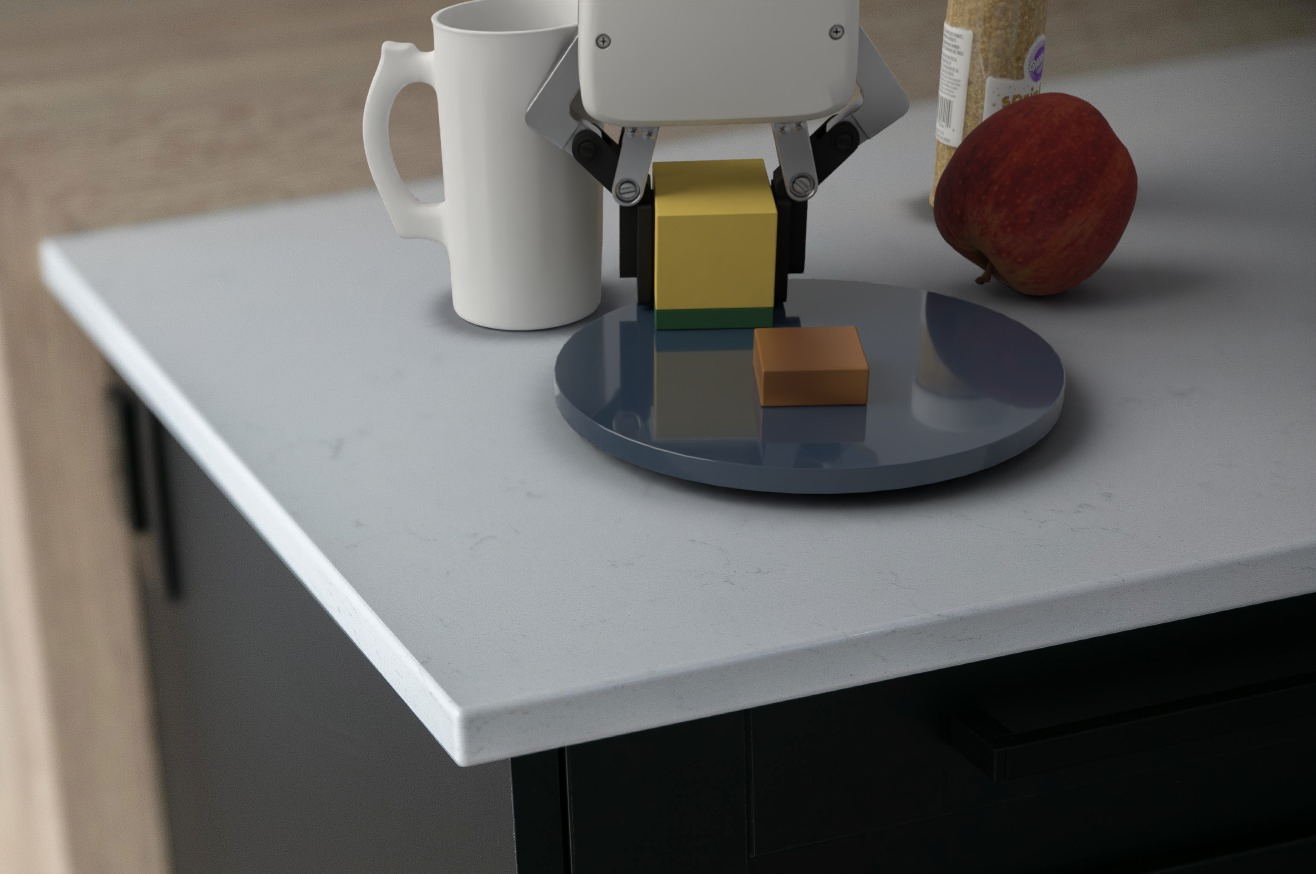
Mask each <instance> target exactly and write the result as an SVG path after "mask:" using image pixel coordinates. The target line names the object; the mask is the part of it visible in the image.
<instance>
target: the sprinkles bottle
mask: <svg viewBox="0 0 1316 874" xmlns="http://www.w3.org/2000/svg"><path fill="white" fill-rule="evenodd" d="M1048 6H1049V0H947V8H946V14H945V15H946V17H945V20H944V22H943V35H942V47H941V61H940V72H939V86H938V95H937V96H938V97H937V109H936V121H935V135H934V136H935V138H936V146H935V147H936V148H935V163H934V171H933V174H934V175H933V183H932V184H933V185H932V189H931V191H930V194H929V197H928V201H929V205H930V207H932V209H933V208H934V196H935V191H936V187H937V184H938V182H939V179H940V177H941V175H942V173H943V171H944V169H945V168H946V166H947V164H948V163H949V161H950V159H951V158H952V156H953V154H954V153H955V151H956V149H957V148H958V146H959V145H960V144H961V143H962V141H963V140H964V139H965V138H966V137H967V135H968V134H969V133H971V132H972V131H973V130H974V129H975V128H976V127H977V126H978V125H979V124H980V123H982V122H983V121H984V120H985V119H987V118H988V117H990V116H991V115H992V114H994V113H996V112H997V111H999V110H1001V109H1002V108H1004V107H1005V106H1007V105H1009V104H1011V103H1013V102H1015V101H1018V100H1021V99H1023V98H1026V97H1029V96H1032V95H1036V94H1041V88H1042V78H1043V68H1044V59H1045V49H1046V25H1047V24H1046V23H1047V15H1048Z"/></svg>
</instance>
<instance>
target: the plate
mask: <svg viewBox="0 0 1316 874" xmlns="http://www.w3.org/2000/svg"><path fill="white" fill-rule="evenodd" d="M773 308H774V311H773V327H770V328H791V327H833V326H855V327H856V328H857V331H858V335H859V338H860V341H861V344H862V347H863V350H864V353H865V356H866V359H867V362H868V365H869V368H870V373H869V388H868V402H867V404H866V405H828V406H775V407H763V406H761V403H760V398H759V392H758V387H757V381H756V376H755V370H754V365H753V348H754V330H755V329H756V328H723V329H676V330H656V328H655V313H654V302H651V305H640V306H638V301H635V302H631V303H628V304H626V305H623V306H620V307H619V308H616V309H613V310H612V311H609V312H607V313H604V314H603V315H601V316H599V317H598V318H595V319H594V320H592V321H590V322H589V323H587V324H586V325H584V326H583V327H581V328H580V329H579V330H577V331H576V332H574V333H573V334H572V335H571V336H570V338H569V339H568V340H567V341H566V342H565V343H564V344H563V345H562V347H561V348H560V350H559V352H558V354H557V355H556V358H555V362H554V367H553V388H554V389H553V390H554V391H553V392H554V399H555V404H556V406H557V408H558V411H559V412H560V415H561V417H562V418H563V420H565V421H566V423H567V424H568V426H569V427H570V428H571V429H572V430H574V431H575V433H577V434H578V435H579V436H580V437H582V438H583V439H584V440H585V441H587V442H589V443H591V444H592V445H593V446H595V447H596V448H598V449H600V450H602V451H604V452H605V453H607V454H610V455H612V456H614V457H616V458H617V459H619V460H620V459H621V460H622V461H624V462H627V463H629V464H632V465H635V466H638V467H640V468H644V469H646V470H649V471H653V472H655V473H659V474H664V475H667V476H670V477H674V478H678V479H681V480H685V481H691V482H696V483H700V484H706V485H711V486H716V487H723V488H731V489H739V490H745V491H754V492H767V493H782V494H815V495H816V494H817V495H818V494H820V495H830V494H833V495H834V494H855V493H857V494H858V493H870V492H871V493H872V492H880V491H881V492H882V491H891V490H901V489H906V488H912V487H913V488H914V487H918V486H925V485H931V484H936V483H940V482H945V481H948V480H952V479H953V480H954V479H956V478H961V477H965V476H968V475H971V474H973V473H977V472H980V471H984V470H985V469H989V468H992V467H994V466H997V465H999V464H1002V463H1003V462H1006V461H1008V460H1011V459H1012V458H1015V457H1017V456H1018V455H1020V454H1022V453H1023V452H1025V451H1026V450H1028V449H1029V448H1032V447H1033V446H1035V445H1036V444H1037V443H1038V442H1039V441H1040V440H1041V439H1043V438H1044V437H1045V436H1046V435H1047V434H1048V433H1049V432H1050V431H1051V430H1052V428H1053V427H1054V425H1055V424H1056V423H1057V421H1058V420H1059V418H1060V415H1061V412H1062V409H1063V406H1064V400H1065V393H1066V392H1065V391H1066V370H1065V367H1064V365H1063V362H1062V359H1061V357H1060V356H1059V354H1058V352H1056V350H1055V348H1054V347H1053V346H1052V345H1051V344H1050V343H1049V342H1048V341H1046V339H1044V338H1043V337H1042V336H1041V335H1040V334H1039V333H1037V332H1036V331H1034V330H1032V329H1031V328H1030V327H1027V325H1025V324H1023V323H1022V322H1019V321H1017V320H1016V319H1013V317H1012V318H1011V317H1009V316H1007V315H1005V314H1003V313H1001V312H998V311H996V310H994V309H991V308H988V307H986V306H984V305H981V304H978V303H975V302H971V301H968V300H964V299H961V298H958V297H956V296H950V295H947V294H942V293H937V292H933V291H930V290H929V291H928V290H924V289H919V288H913V287H908V286H902V285H895V284H889V283H880V282H879V283H878V282H873V281H861V280H849V279H833V278H832V279H831V278H829V279H828V278H788V286H787V301H786V302H774V306H773Z"/></svg>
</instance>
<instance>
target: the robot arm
mask: <svg viewBox="0 0 1316 874" xmlns="http://www.w3.org/2000/svg"><path fill="white" fill-rule="evenodd" d="M856 85H857V87H858V88H859V94H858V96H857V98H856V99H855V100H853V102H851V100H852V98H853V95H854V93H855V87H856ZM580 88H581V97H582V102H583V106H584V108H585V110H586V112H587V113H588V114H589V115H590V116H591V117H593V118H594V119H596V120H598V121H600V122H603V123H604V124H607V125H609V126H616V127H620V131H619V135H618V139H617V142H616V141H615V140H614V139H613V138H612V137H611V136H610V135H609V134H608V133H607V132H605V130H604V131H603V130H602V129H601V128H600V127H599V126H598V125H596V124H595V123H591V122H588V121H587V120H585V119H584V118H583V117H581V115H580V114H578V113H577V112H575V111H574V110H573V109H572V107H571V105H570V104H571V102H572V100H573V99H574V97H575V96H576V94H577V93H578V91H579V90H580ZM850 102H851V103H850ZM849 103H850V104H849ZM910 103H911V101H910V99H909V97H908V95H907V93H906V91H905V89H904V88H903V86H902V84H901V83H900V82H899V80H898V79H897V77H896V76H895V74H894V73H893V71H892V69H891V68H890V67H889V65H888V64H887V63H886V60H885V59H884V58H883V56H882V55H881V53H880V52H879V50H878V49H877V47H876V46H875V44H874V43H873V41H872V40H871V38H870V37H869V35H868V34H867V32H866V31H865V29H864V28H863V26H862V25H861V23H860V0H578V26H577V30H576V32H575V33H574V35H573V36H572V38H571V39H570V41H569V42H568V44H567V45H566V47H565V48H564V50H563V51H562V53H561V54H560V56H559V57H558V59H557V60H556V62H555V63H554V65H553V66H552V68H551V69H550V71H549V72H548V74H547V75H546V77H545V78H544V80H543V81H542V83H541V85H540V86H539V88H538V89H537V91H536V92H535V94H534V95H533V97H532V98H531V100H530V101H529V103H528V105H527V107H526V112H525V121H526V124H527V126H528V127H529V128H530V129H532V130H533V131H535V132H536V133H538V134H539V135H541V136H542V137H544V138H545V139H547V140H548V141H550V142H551V143H553V144H554V145H556V146H557V147H559V148H560V149H562V150H565V151H566V152H568V153H569V154H571V155H572V156H573V157H574V158H575V159H576V161H577V162H578V163H580V164H581V165H582V166H583V167H584V168H585V169H586V170H587V171H588V172H589V173H590V174H591V175H592V176H593V177H594V178H595V179H597V180H598V181H599V182H600V183H601V184H602V185H603V188H605V189H606V190H607V191H608V192H609V193H610V194H611V195H612V198H613V200H614V202H615V203H617V204H618V208H619V209H618V211H619V212H618V213H619V216H618V225H619V226H618V238H619V239H618V246H619V247H618V248H619V249H618V253H619V254H618V257H619V260H618V263H619V264H618V267H619V268H618V269H619V270H618V271H619V272H618V273H619V276H618V277H619V279H636V296H637V297H636V298H637V299H636V300H637V302H638V306H640V305H651V302H654V293H655V291H654V287H655V201H654V189H652V176H651V174H650V173H649V172H650V168H651V164H652V159H653V156H654V152H655V147H656V143H657V140H658V135H659V131H660V128H661V127H663V128H664V127H695V126H698V127H699V126H725V125H726V126H727V125H749V124H750V125H754V124H770V125H771V126H770V127H771V130H772V136H773V141H774V146H775V150H776V156H777V159H778V161H777V162H778V166H777V167H776V168H775V169H774V170H773V171H772V178H771V179H770V186H771V190H772V194H773V197H774V201H775V205H776V209H777V213H778V216H777V239H776V263H775V287H774V302H786V301H787V286H788V279H789V275H796V274H797V275H798V274H804V273H805V269H806V268H805V266H806V247H807V228H808V226H807V225H808V209H809V208H808V207H809V206H808V205H809V200H810V199H812V198H813V197H814V196H815V195H816V193H817V192H818V189H819V186H820V185H821V184H822V183H823V182H824V181H826V179H827V178H829V177H830V176H831V175H832V174H833V173H834V172H835V171H836V170H837V169H838V168H839V167H840V166H841V165H842V164H843V163H844V162H845V161H846V160H848V159H849V158H850V157H851V156H852V155H853V154H854V153H855V152H856V150H857V149H858V148H859V146H860V145H862V144H863V143H866V141H868V140H871V139H873V138H874V137H875V136H876V135H878V134H880V133H881V132H882V131H884V130H885V129H888V127H890V126H891V125H893V124H894V123H895V122H897V121H898V120H900V119H901V118H902V117H904V116H905V115H906V114H907V113H908V111H909V109H910ZM846 106H847V107H846ZM845 107H846V108H845ZM844 108H845V109H844ZM841 110H842V111H841ZM839 111H840V112H839ZM837 112H839V113H837ZM827 117H828V118H827ZM823 118H827V119H826V120H825V121H824V122H823V123H822V124H820V126H819V127H818V128H817V129H815V130H814V131H813V133H811V134H810V132H809V127H808V122H809V121H815V120H818V119H823Z"/></svg>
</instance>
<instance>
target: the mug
mask: <svg viewBox="0 0 1316 874" xmlns="http://www.w3.org/2000/svg"><path fill="white" fill-rule="evenodd" d="M430 20H431V24H432V29H433V50H430V51H421V50H419V49H418V47H417V45H416V44H414V43H412V42H398V41H393V40H386V41H384V42H383V43H382V44H381V53H380V54H381V55H380V59H379V63H378V65H377V68H376V70H375V73H374V76H373V78H372V81H371V84H370V85H369V86H370V87H369V90H368V93H367V97H366V100H365V105H364V109H363V115H362V116H363V117H362V141H363V147H364V152H365V153H364V154H365V157H366V158H365V159H366V161H367V162H366V163H367V165H368V168H369V171H370V172H369V173H370V174H371V177H372V179H373V182H374V184H375V186H376V189H377V191H378V193H379V196H380V198H381V199H382V202H383V204H384V206H385V208H386V211H387V213H388V215H389V217H390V219H391V222H392V224H393V226H394V230H395V231H396V233H397V235H398V236H399V237H400V238H402V239H404V240H414V239H415V240H416V239H417V240H419V239H420V240H428V241H433V242H435V243H437V244H439V245H441V246H443V247H444V248H445V249H446V251H447V254H448V259H449V269H450V270H449V271H450V281H451V294H452V295H451V296H452V306H453V309H454V311H455V314H457V315H458V316H459V317H460V318H461V319H463V320H465V321H466V322H468V323H471V324H473V325H476V326H481V327H485V328H489V329H496V330H505V331H532V330H533V331H535V330H544V329H552V328H556V327H562V326H566V325H569V324H571V323H575V322H577V321H580V320H582V319H584V318H587V317H589V316H590V315H592V314H593V313H594V312H595V311H596V310H597V309H598V308H599V306H600V303H601V300H602V268H603V265H602V264H603V246H604V245H603V243H604V186H603V185H602V184H601V183H600V182H599V181H598V180H597V179H595V178H594V177H593V176H592V175H591V174H590V173H589V172H588V171H587V170H586V169H585V168H584V167H583V166H582V165H581V164H580V163H578V162H577V161H576V159H575V158H574V157H573V156H572V155H571V154H569V153H568V152H566V151H565V150H562V149H560V148H559V147H557V146H556V145H554V144H553V143H551V142H550V141H548V140H547V139H545V138H544V137H542V136H541V135H539V134H538V133H536V132H535V131H533V130H532V129H530V128H529V127H528V126H527V124H526V121H525V112H526V107H527V105H528V103H529V101H530V100H531V98H532V97H533V95H534V94H535V92H536V91H537V89H538V88H539V86H540V85H541V83H542V81H543V80H544V78H545V77H546V75H547V74H548V72H549V71H550V69H551V68H552V66H553V65H554V63H555V62H556V60H557V59H558V57H559V56H560V54H561V53H562V51H563V50H564V48H565V47H566V45H567V44H568V42H569V41H570V39H571V38H572V36H573V35H574V33H575V32H576V30H577V26H578V0H470V1H469V0H468V1H464V2H460V3H456V4H453V5H450V6H448V7H444V8H442V9H439V10H438V11H436V12H435V13H433V15H431V18H430ZM413 83H423V84H426V85H428V86H430V87H432V88H433V89H434V91H435V93H436V98H437V99H436V100H437V108H438V109H437V110H438V121H439V135H440V137H439V138H440V149H441V161H442V163H441V164H442V175H443V188H444V189H443V190H444V200H443V201H441V202H425V201H422V200H420V199H419V198H418V197H416V196H415V194H414V193H412V192H411V190H410V189H409V188H408V187H407V185H406V184H405V182H404V181H403V180H402V178H401V176H400V173H399V171H398V169H397V165H396V163H395V160H394V157H393V153H392V148H391V144H390V138H389V137H390V135H389V122H390V115H391V111H392V108H393V104H394V102H395V100H396V98H397V96H398V95H399V93H400V92H401V91H402V89H403V88H405V87H406V86H407V85H410V84H413ZM570 105H571V107H572V109H573V110H574V111H575V112H577V113H578V114H580V115H581V117H583V118H584V119H585V120H587V121H588V122H591V123H595V124H596V125H598V126H599V127H600V128H601V129H602V130H603V131H604V132H605V123H603V122H600V121H598V120H596V119H594V118H593V117H591V116H590V115H589V114H588V113H587V112H586V110H585V108H584V106H583V102H582V97H581V88H580V90H579V91H578V93H577V94H576V96H575V97H574V99H573V100H572V102H571V104H570Z"/></svg>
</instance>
